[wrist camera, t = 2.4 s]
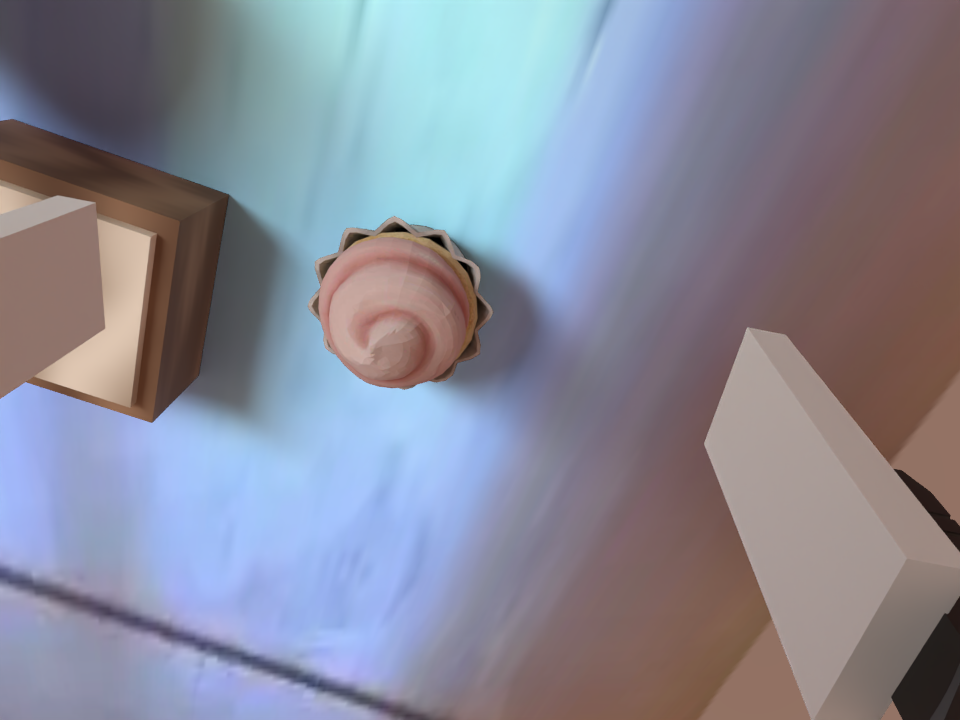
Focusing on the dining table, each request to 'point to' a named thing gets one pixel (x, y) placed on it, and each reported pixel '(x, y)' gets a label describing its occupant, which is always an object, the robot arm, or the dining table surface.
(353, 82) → the dining table surface
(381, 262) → the cupcake
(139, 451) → the dining table surface
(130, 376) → the walnut base
